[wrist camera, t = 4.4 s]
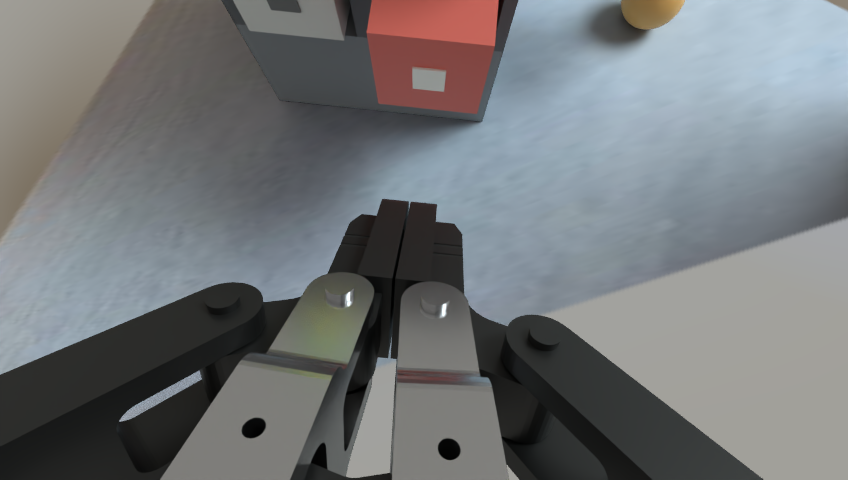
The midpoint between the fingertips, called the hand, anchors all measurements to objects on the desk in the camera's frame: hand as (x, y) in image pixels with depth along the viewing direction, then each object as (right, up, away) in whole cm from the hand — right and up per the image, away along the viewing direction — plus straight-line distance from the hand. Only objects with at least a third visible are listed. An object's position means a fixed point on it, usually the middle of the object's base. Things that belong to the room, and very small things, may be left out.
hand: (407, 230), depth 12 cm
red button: (+1, +9, +9) cm, 13 cm away
